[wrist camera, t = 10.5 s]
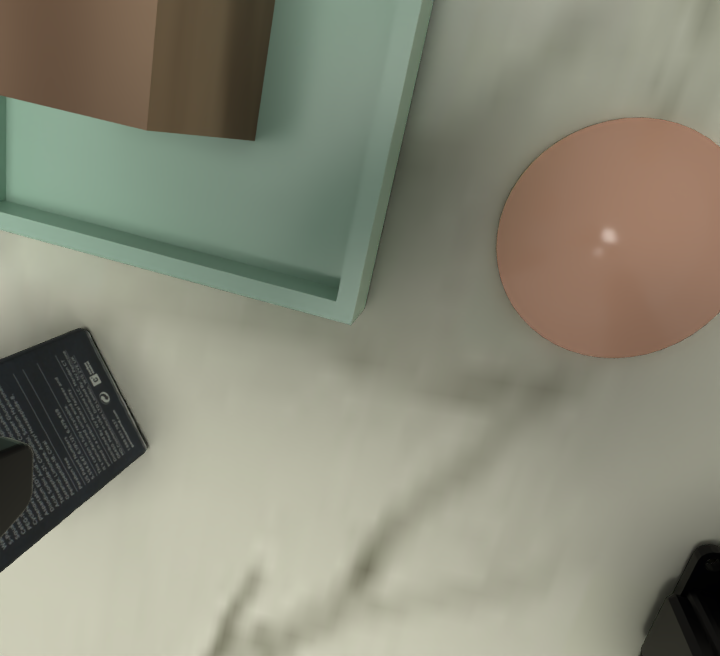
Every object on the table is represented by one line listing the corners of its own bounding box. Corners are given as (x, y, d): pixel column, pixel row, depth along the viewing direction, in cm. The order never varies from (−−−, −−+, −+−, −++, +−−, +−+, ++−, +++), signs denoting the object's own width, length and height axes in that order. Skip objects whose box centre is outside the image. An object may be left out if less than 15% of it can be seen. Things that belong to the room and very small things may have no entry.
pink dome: (783, 144, 15) (798, 143, 15) (691, 372, 18) (700, 381, 17) (530, 100, 16) (532, 97, 16) (472, 322, 19) (472, 328, 18)
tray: (478, -199, 14) (478, -257, 12) (364, 307, 19) (351, 325, 17) (5, -264, 16) (-60, -324, 14) (5, 212, 21) (-46, 217, 19)
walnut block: (281, -41, 16) (170, -153, 10) (254, 141, 17) (146, 130, 12) (123, -71, 16) (-64, -192, 11) (111, 107, 18) (-56, 81, 12)
